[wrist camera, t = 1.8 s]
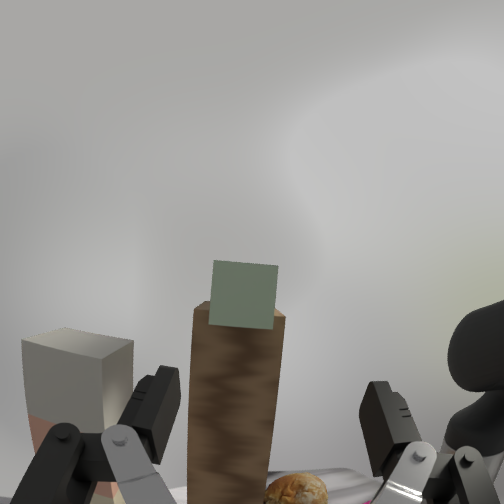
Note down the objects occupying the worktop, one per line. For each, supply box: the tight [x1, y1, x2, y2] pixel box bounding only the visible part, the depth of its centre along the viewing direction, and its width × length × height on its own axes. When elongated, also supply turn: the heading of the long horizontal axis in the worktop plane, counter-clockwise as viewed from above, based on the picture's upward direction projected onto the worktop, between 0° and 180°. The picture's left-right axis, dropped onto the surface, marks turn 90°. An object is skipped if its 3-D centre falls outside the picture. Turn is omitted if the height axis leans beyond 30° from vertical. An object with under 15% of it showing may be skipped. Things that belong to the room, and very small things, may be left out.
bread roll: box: [263, 472, 328, 504], centre depth 37 cm, size 10×10×8 cm
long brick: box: [209, 260, 278, 330], centre depth 31 cm, size 4×22×4 cm, turn 3°
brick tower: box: [21, 328, 134, 504], centre depth 24 cm, size 8×8×28 cm
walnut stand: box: [187, 301, 286, 504], centre depth 31 cm, size 8×10×32 cm
